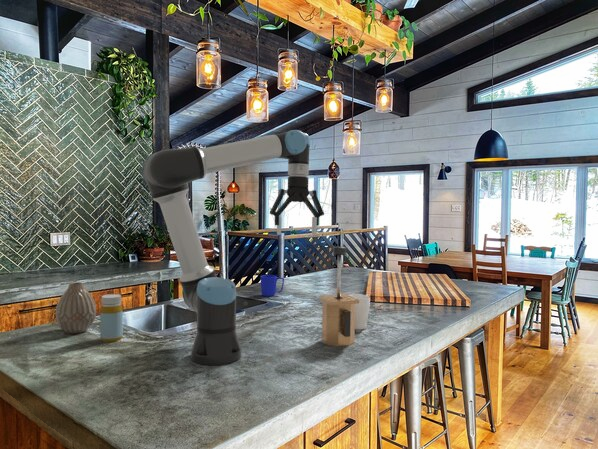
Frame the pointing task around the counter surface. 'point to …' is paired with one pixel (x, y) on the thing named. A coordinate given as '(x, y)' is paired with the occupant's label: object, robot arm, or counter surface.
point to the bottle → (111, 318)
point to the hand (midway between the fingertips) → (296, 234)
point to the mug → (269, 285)
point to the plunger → (339, 267)
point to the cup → (361, 310)
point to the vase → (75, 309)
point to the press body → (338, 319)
